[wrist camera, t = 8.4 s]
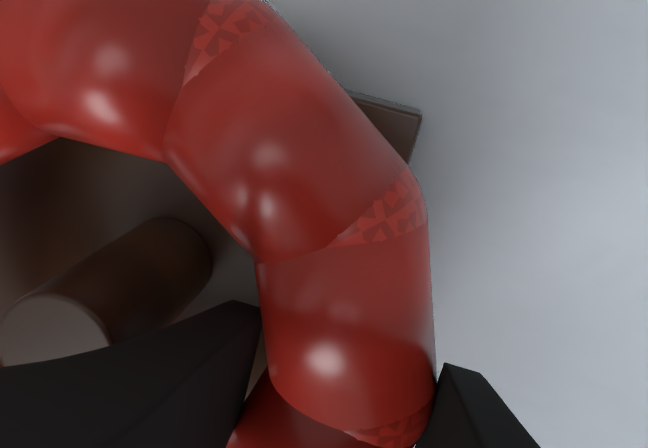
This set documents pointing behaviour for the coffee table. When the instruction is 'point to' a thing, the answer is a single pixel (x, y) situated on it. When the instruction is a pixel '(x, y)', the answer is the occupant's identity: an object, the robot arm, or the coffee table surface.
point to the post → (122, 246)
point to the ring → (254, 193)
